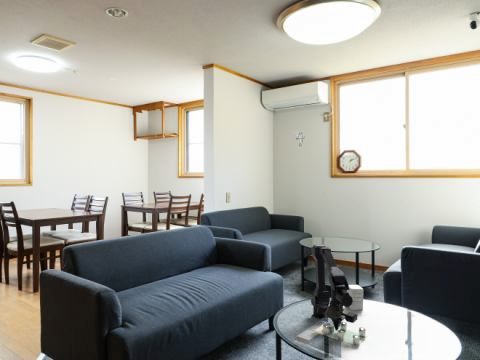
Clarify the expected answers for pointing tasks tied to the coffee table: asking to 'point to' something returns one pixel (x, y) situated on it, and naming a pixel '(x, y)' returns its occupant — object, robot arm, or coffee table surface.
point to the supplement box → (356, 297)
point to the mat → (347, 335)
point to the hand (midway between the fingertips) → (336, 330)
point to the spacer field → (341, 333)
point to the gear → (329, 326)
